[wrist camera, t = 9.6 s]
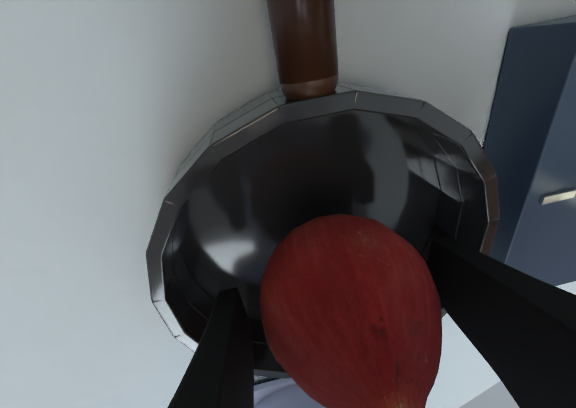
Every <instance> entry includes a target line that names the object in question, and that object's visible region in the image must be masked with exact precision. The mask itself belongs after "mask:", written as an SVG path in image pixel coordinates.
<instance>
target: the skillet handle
mask: <svg viewBox="0 0 576 408" xmlns="http://www.w3.org/2000/svg"><path fill="white" fill-rule="evenodd" d="M266 1H267V8H268V14H269V20H270V26H271V32H272V38H273V45H274V51H275V57H276V63H277V69H278V76H279V82H280V86H281V90H282V92H283V94H284V96H285V97H286V98H287V99H292V100H297V99H308V98H314V97H319V96H323V95H327V94H330V93H332V92H334V91H335V89H336V87H337V83H338V59H337V42H336V25H335V8H334V0H266Z"/></svg>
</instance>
